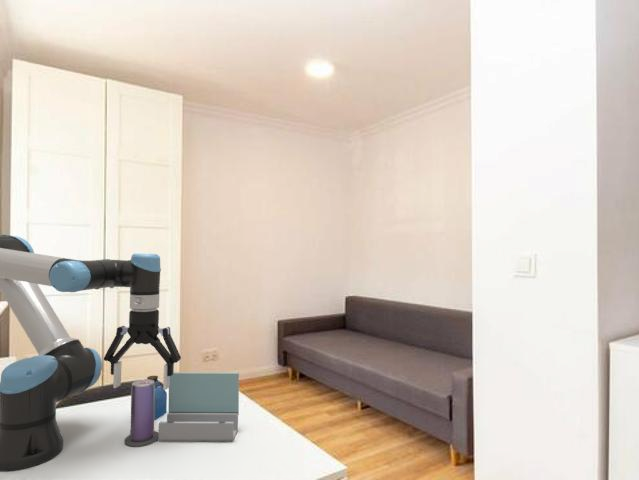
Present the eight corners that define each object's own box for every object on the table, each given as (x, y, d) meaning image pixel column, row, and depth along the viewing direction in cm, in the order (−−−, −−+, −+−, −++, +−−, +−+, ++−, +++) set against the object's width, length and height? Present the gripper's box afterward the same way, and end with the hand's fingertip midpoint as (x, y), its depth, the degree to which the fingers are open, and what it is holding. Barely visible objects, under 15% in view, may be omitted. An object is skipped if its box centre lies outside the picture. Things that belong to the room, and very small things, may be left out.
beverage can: (145, 443, 108) (146, 386, 108) (125, 441, 109) (126, 384, 109) (158, 433, 113) (159, 379, 114) (139, 431, 115) (140, 378, 115)
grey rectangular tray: (158, 441, 110) (158, 422, 110) (168, 430, 117) (168, 411, 117) (232, 442, 110) (232, 422, 110) (237, 430, 117) (238, 412, 117)
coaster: (117, 447, 107) (117, 445, 107) (133, 431, 116) (133, 430, 116) (152, 447, 107) (152, 445, 107) (165, 432, 116) (165, 430, 116)
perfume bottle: (166, 412, 130) (167, 374, 130) (155, 420, 124) (155, 380, 124) (148, 411, 131) (149, 373, 131) (136, 419, 125) (137, 379, 125)
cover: (168, 373, 117) (170, 372, 118) (168, 415, 117) (169, 414, 118) (238, 373, 117) (239, 372, 118) (238, 415, 117) (238, 414, 118)
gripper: (91, 310, 108) (88, 390, 108) (185, 312, 108) (182, 392, 108) (106, 306, 116) (103, 381, 115) (193, 308, 116) (191, 383, 115)
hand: (141, 387), depth 112 cm, fingers open, 13 cm apart
